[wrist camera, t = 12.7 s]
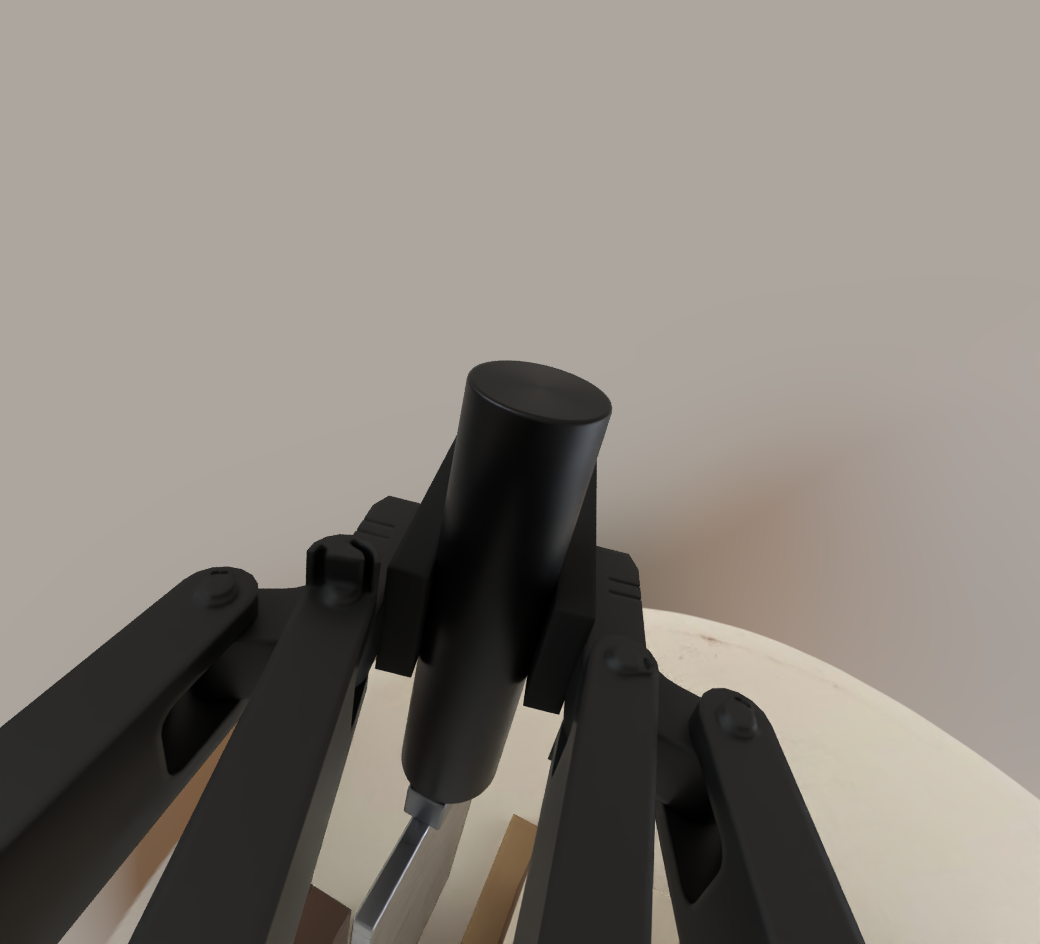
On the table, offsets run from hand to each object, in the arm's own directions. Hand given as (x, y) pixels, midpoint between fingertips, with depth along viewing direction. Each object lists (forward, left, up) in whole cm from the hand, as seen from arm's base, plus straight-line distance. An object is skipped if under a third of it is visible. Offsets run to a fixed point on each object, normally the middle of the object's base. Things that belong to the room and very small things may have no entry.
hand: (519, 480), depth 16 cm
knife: (+1, -5, -18) cm, 19 cm away
